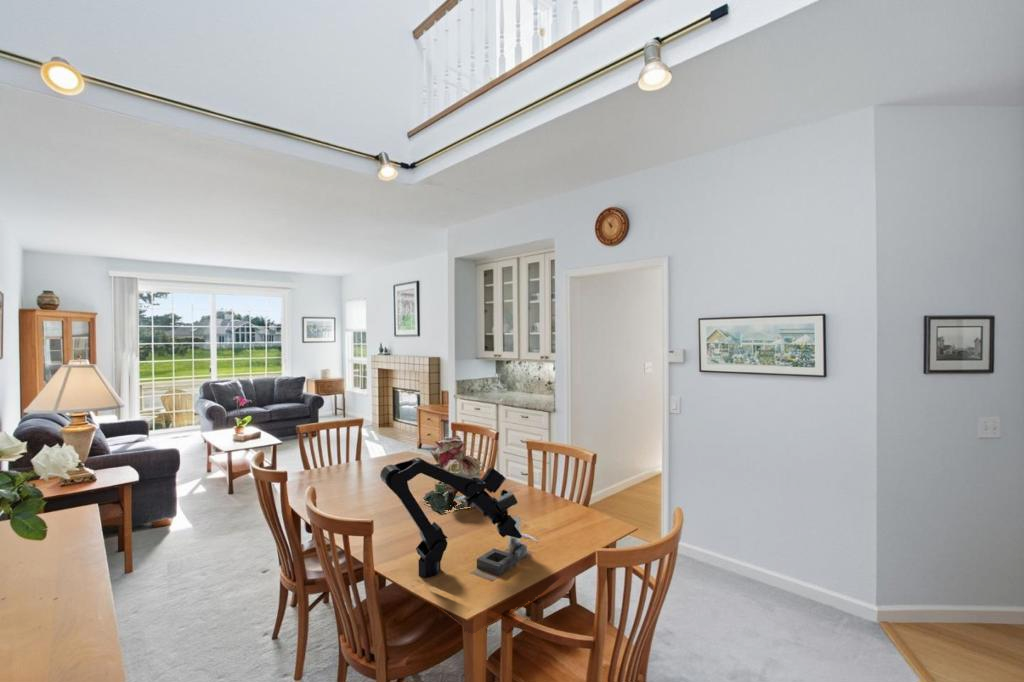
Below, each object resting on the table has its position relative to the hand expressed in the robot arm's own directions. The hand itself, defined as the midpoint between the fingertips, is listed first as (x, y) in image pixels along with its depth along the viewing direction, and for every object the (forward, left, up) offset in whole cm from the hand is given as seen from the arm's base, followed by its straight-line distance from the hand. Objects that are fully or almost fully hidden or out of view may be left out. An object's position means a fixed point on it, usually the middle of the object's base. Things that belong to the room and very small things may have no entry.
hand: (518, 533), depth 159 cm
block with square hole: (-8, +1, -9) cm, 11 cm away
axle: (-1, +1, -7) cm, 7 cm away
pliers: (+14, +10, -9) cm, 20 cm away
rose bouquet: (+29, +55, -9) cm, 62 cm away
